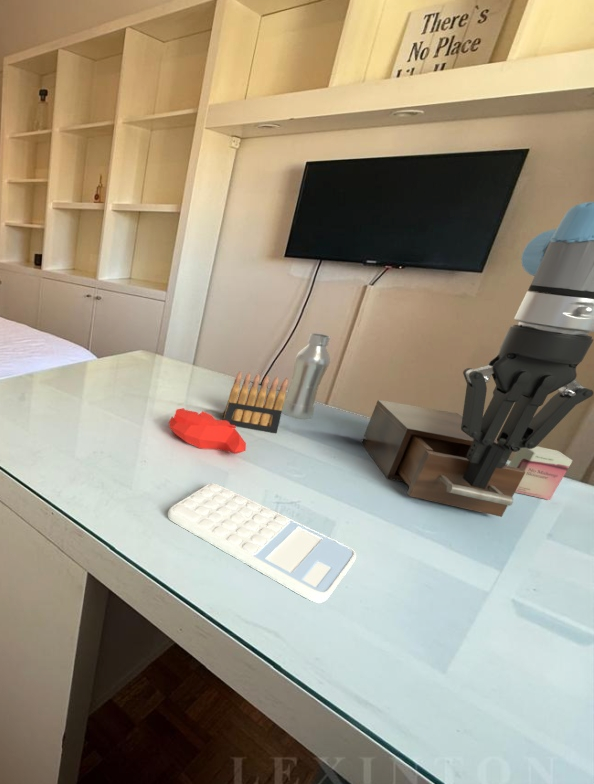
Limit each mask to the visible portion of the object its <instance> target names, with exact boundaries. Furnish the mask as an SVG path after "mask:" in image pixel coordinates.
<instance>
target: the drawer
mask: <svg viewBox="0 0 594 784" xmlns="http://www.w3.org/2000/svg"><path fill="white" fill-rule="evenodd" d="M470 447H471V445H466V444H461V443H455V442H450V441H445V440H439V439H434V438H429V437H423V436H418V435H413V434H412V435H411V438H410V440H409V442H408V445H407V447H406V449H405V452H404V454H403V456H402V459H401V461H400V464H399V466H398V468H397V472H398V473H399V474H400V476H401V477H402V478H403V479H404V481H405V482H404V483H405V484H406V485H407V486H408V489H407V492H406V493H407V495H408V496H409V497H412V498H416V499H421V500H425V501H431V502H434V503H437V504H443V505H448V506H452V507H457V508H460V509H465V510H469V511H473V512H474V511H475V512H479V513H483V514H487V515H491V516H496V517H501V518H502V517H503V515H504V513H505V511H506V510H507V507H509V506H512V505H513V504H514V495H515V493H516V492H515V491H516V489H517V487H518V486H519V484H520V482H521V480H522V478H523V476H524V474H525V471H523V470H522V469H520V468H515V467H510V466H509V465H508V464H509V463H506V464H505V466H504V467H503V468H501V469H500V468H496V469H495V471H494V472H493V474H492V476H491V478H490V480H489V482H488V484H487V486H486V488H485V489H482V488H478V487H473V486H471V485H470V484H469V483H468V482H467V481H465V480H464V479H463V476H464V474H465V472H466V470H467V468H468V466H469V464H470V461H469V460H468V459H467V457H466V455H467V453H468V451H469V449H470Z"/></svg>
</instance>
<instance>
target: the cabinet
mask: <svg viewBox="0 0 594 784" xmlns="http://www.w3.org/2000/svg"><path fill="white" fill-rule="evenodd" d="M462 417H463V415H461V414H460V413H458V412H452V411H447V410H441V409H434V408H429V407H424V406H417V405H412V404H405V403H400V402H399V403H398V402H395V401H388V400H381V399H377V401H376V404H375V405H374V409H373V411H372V414H371V416H370V419H369V421H368V425H367V426H366V430H365V432H364V435H363V436H364V438H362V440H361V443H360V444H361V445H362V447H363V448H364V450H365V451H366V452H367V453H368V455H369V456H370V458H371V459H372V461H374V463H375V464H376V466H377V468H378V469H379V470H380V471H381V472H382V474H383V475H384V477H385V478H386V479H388V480H393V481H398V482H402V483H406V482H405V481H404V479H403V478H402V477H401V476H400V474H399V473H398V472H397V468H398V466H399V464H400V461H401V459H402V456H403V454H404V452H405V449H406V447H407V445H408V442H409V440H410V438H411V435H412V434H413V435H418V436H423V437H429V438H434V439H439V440H445V441H450V442H455V443H461V444H466V445H472V443H473V440H474V439H473V438H472V437H470V436H468V435H467V434H466V433H464V432H463V431H462V430H461V424H462ZM494 442H495V443H496V444H497V443H498V442H497V439H495V441H494Z"/></svg>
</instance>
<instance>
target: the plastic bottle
mask: <svg viewBox="0 0 594 784" xmlns="http://www.w3.org/2000/svg"><path fill="white" fill-rule="evenodd" d="M330 338H331V336H330V335H327V334H323V333H310V335H309V338H308V339H307V343H308V344H307V345H306V346H304V347H303V348H302V349H300V350H299V351H298V353H297V354H296V356H295V359H294V367H293V373H292V377H291V382H290V385H289V388H288V389H287V392H286V395H285V401H284V404H283V408H282V413H281V414H283V415H285V416H287V417H291V418H292V419H293V418H294V419H297V420H310V419H312V417H313V415H314V412H315V403H316V399H317V394H318V390H319V387H320V384H321V382H322V380H323V378H324V375H325V373H326V371H328V370H327V369H328V367H329V365H330V363H331V358H330V354H329V351H328V350H327V347H328V346H329V342H330Z"/></svg>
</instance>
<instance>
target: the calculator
mask: <svg viewBox="0 0 594 784" xmlns="http://www.w3.org/2000/svg"><path fill="white" fill-rule="evenodd" d="M167 516H168V517H167V518H168V519H169V520H170V521H171V522H172V523H174V524H176V525H177V526H179V527H181V529H184V530H186V531H188V532H189V533H191V534H193V535H195V536H196V537H198V538H200V539H201V540H203V541H205V542H207V543H209V544H210V545H212V546H214V547H216V548H217V549H219V550H221V551H222V552H224V553H226V554H228V555H230V556H231V557H233V558H234V559H236V560H238V561H240V562H242V563H244V565H247V566H249V567H250V568H252V569H254V570H256V571H257V572H258V573H261V574H263V575H264V576H266V577H268V578H269V579H270V580H272V581H275V582H276V583H278V584H280V585H282V586H284V587H285V588H287V589H288V590H290V591H292V592H294V593H296V594H297V595H299V596H301V597H303V598H305V599H306V600H309V601H311V602H313V603H316V604H321V603H322V604H323V603H324V602H326V601H327V600H328V599H329V598H330V597H331V595H332V594H333V592H334V591H335V590H336V588H337V587H338V586H339V584H340V583H341V581H342V580H343V579H344V577H345V575H347V573H348V572H349V570H350V569H351V568H352V566H353V564H354V563H355V561H356V559H357V552H356V551H355V550H354V549H353V548H352V547H350V546H349V545H346V544H345V543H343V542H340V541H338V540H336V539H334V538H331V536H328V535H326V534H324V533H322V532H319V531H318V530H315V529H313V528H311V527H309V526H307V525H304V524H303V523H300V522H298V521H296V520H295V519H292V518H289V517H287V516H286V515H283V514H281V513H279V512H277V511H275V510H273V509H271V508H269V507H266V506H264V505H262V504H261V503H258V502H256V501H254V500H252V499H250V498H248V497H245V496H243V495H241V494H239V493H237V492H235V491H232V490H231V489H228V488H226V487H224V486H221V485H220V484H217V483H208V484H206V485H205V486H203V487H202V488H199V489H197V490H196V491H195V492H193V493H191V494H190V495H188V496H187V497H185V498H183V499H182V500H180V501H178V502H176V503H175V504H173V505H172V506H171V507H170V508H169V509H168V512H167Z"/></svg>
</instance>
